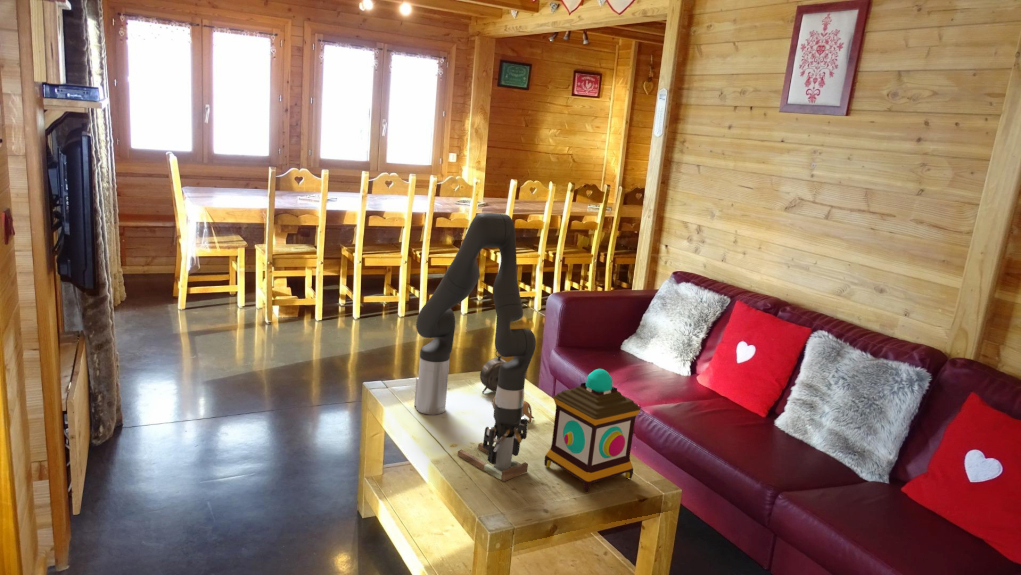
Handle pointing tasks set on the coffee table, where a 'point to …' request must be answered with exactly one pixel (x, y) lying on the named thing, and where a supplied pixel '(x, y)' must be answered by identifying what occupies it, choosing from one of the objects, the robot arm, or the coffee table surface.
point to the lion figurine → (525, 410)
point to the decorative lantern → (593, 430)
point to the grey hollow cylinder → (504, 454)
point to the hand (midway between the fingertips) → (503, 458)
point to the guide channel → (504, 475)
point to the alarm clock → (491, 373)
